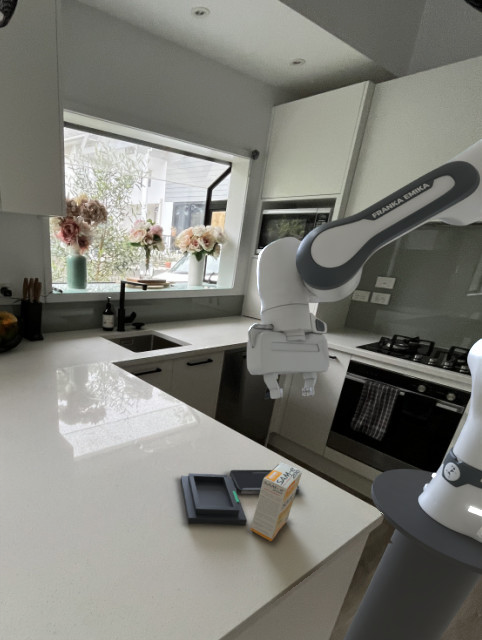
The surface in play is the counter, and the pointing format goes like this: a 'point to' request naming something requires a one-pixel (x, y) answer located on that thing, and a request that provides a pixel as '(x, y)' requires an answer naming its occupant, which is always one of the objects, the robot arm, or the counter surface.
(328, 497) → the counter surface
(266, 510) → the supplement box
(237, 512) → the charging dock
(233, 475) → the phone
